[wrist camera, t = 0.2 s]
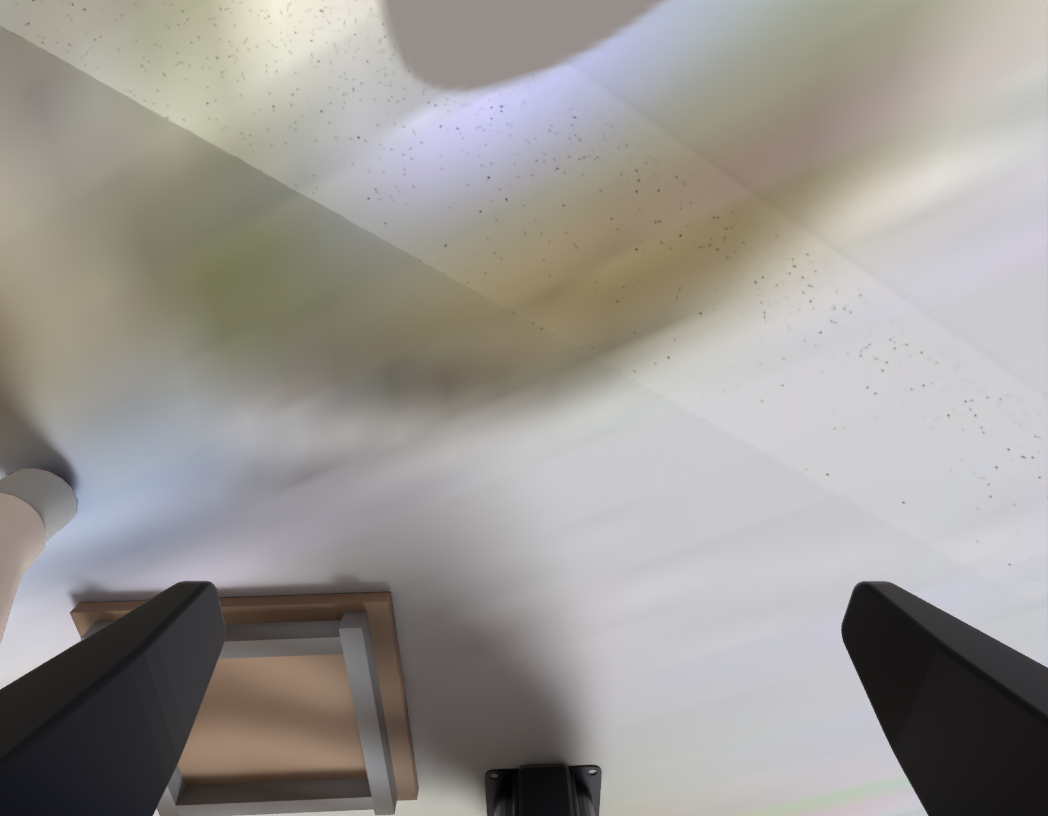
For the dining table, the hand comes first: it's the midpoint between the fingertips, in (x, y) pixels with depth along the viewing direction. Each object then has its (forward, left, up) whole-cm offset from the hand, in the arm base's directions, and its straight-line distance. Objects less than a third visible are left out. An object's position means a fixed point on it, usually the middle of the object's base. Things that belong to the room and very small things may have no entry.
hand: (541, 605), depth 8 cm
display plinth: (-19, +13, -14) cm, 27 cm away
